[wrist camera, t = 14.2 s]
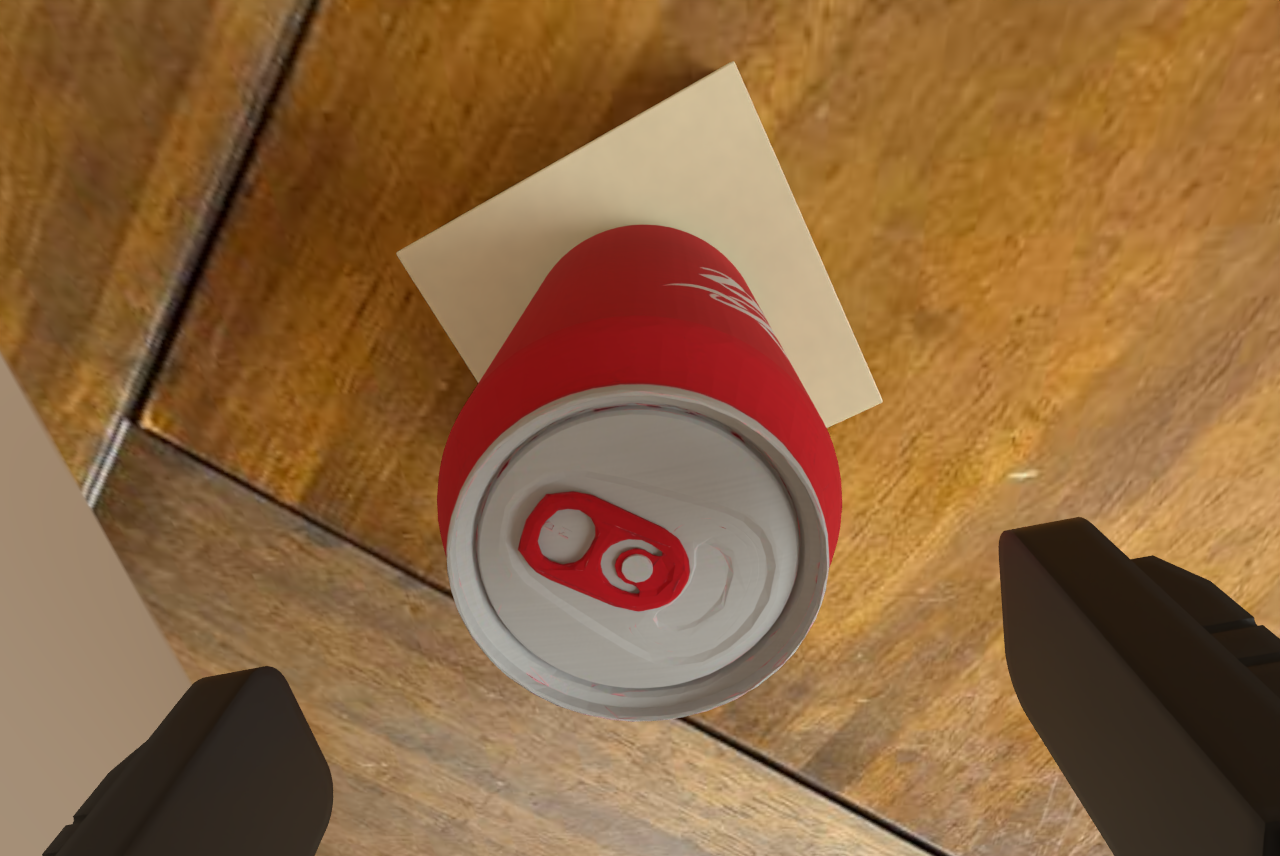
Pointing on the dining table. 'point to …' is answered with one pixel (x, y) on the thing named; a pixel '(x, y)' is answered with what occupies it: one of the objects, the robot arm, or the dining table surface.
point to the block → (653, 195)
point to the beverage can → (640, 487)
